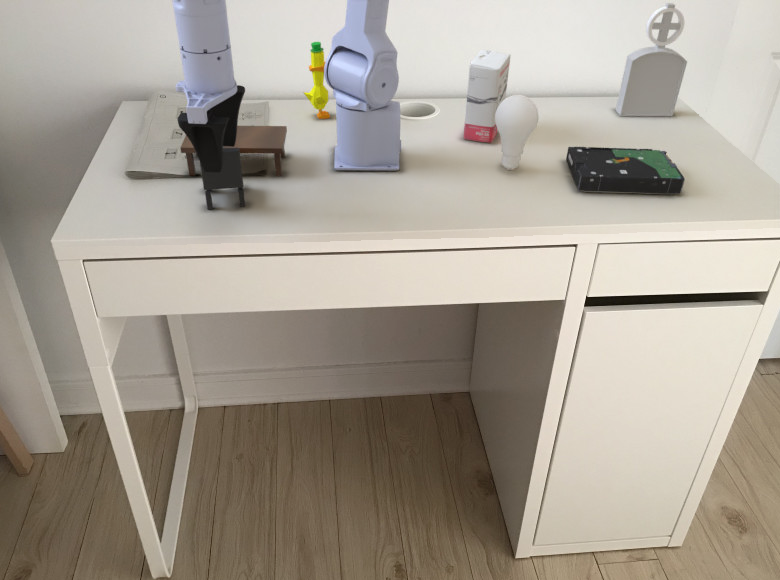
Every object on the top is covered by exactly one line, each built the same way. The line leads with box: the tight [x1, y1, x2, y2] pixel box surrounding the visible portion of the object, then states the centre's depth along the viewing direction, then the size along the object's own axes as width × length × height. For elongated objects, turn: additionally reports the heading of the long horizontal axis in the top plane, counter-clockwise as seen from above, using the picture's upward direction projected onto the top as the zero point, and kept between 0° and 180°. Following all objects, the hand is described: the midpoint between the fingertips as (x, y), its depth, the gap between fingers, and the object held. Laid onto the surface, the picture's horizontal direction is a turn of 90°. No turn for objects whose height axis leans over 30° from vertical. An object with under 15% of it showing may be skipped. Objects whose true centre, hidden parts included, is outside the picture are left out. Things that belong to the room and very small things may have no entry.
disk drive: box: [565, 146, 686, 195], centre depth 105 cm, size 10×3×15 cm
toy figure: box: [303, 41, 331, 120], centre depth 117 cm, size 7×4×12 cm, turn 105°
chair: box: [199, 148, 246, 210], centre depth 95 cm, size 5×6×8 cm
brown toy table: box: [179, 125, 288, 177], centre depth 104 cm, size 14×8×4 cm, turn 93°
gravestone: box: [615, 2, 688, 117], centre depth 121 cm, size 3×9×18 cm, turn 94°
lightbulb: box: [495, 94, 539, 171], centre depth 104 cm, size 6×6×11 cm
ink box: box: [463, 49, 511, 144], centre depth 114 cm, size 9×5×12 cm, turn 161°
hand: (220, 157), depth 91 cm, fingers open, 7 cm apart
